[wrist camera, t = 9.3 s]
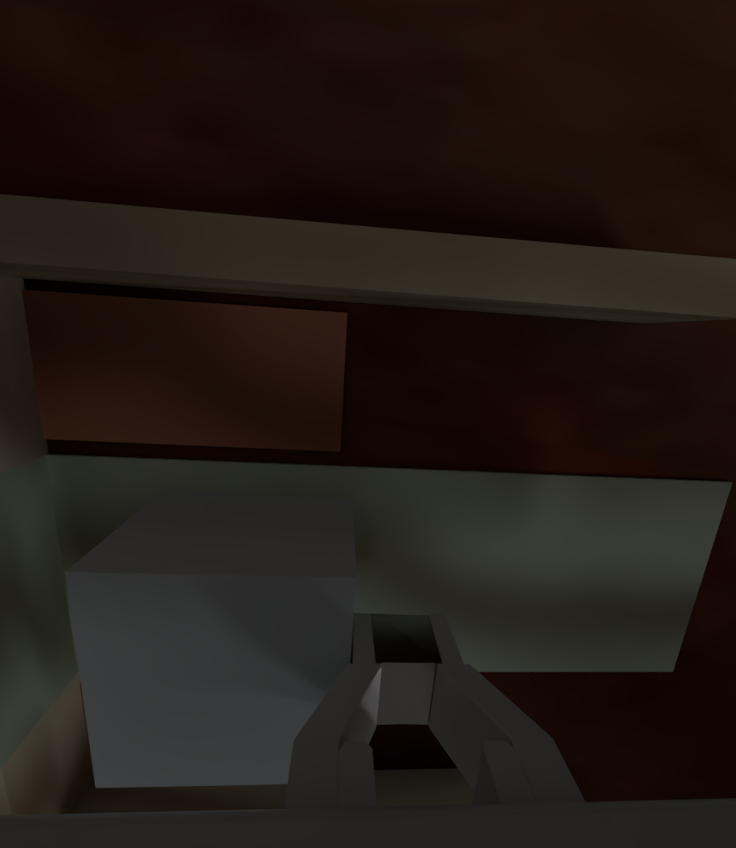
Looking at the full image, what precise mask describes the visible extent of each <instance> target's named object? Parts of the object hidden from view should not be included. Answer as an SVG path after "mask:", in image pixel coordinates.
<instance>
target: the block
mask: <svg viewBox="0 0 736 848" xmlns="http://www.w3.org/2000/svg"><path fill="white" fill-rule="evenodd" d="M65 573H66V580H67V587H68V595H69V602H70V609H71V616H72V623H73V630H74V637H75V644H76V652H77V659H78V666H79V673H80V680H81V687H82V694H83V702H84V709H85V716H86V723H87V730H88V737H89V744H90V752H91V759H92V766H93V773H94V780H95V787H96V788H121V787H171V786H222V785H272V784H288V777H289V770H290V763H291V755H292V748H293V741H294V739H295V737H296V736H297V735H298V733H299V732H300V730H301V729H302V728H303V726H304V725H305V723H306V722H307V720H308V719H309V718H310V716H311V715H312V713H313V712H314V711H315V709H316V708H317V706H318V705H319V704H320V702H321V701H322V699H323V698H324V696H325V695H326V694H327V692H328V691H329V689H330V688H331V687H332V685H333V684H334V682H335V681H336V679H337V678H338V677H339V675H340V674H341V672H342V671H343V670H344V668H345V667H346V665H347V664H350V661H351V646H352V632H353V617H354V603H355V588H356V562H355V538H354V514H353V499H346V498H319V497H292V496H266V495H239V494H212V493H185V492H160V493H159V494H158V495H157V496H156V497H154V498H153V499H152V500H151V501H150V502H148V503H147V504H146V505H145V506H144V507H142V508H141V509H140V510H139V511H138V512H136V513H135V514H134V515H133V516H132V517H130V518H129V519H128V520H127V521H126V522H124V523H123V524H122V525H121V526H120V527H119V528H117V529H116V530H115V531H114V532H113V533H111V534H110V535H109V536H108V537H107V538H105V539H104V540H103V541H102V542H101V543H99V544H98V545H97V546H96V547H95V548H93V549H92V550H91V551H90V552H89V553H87V554H86V555H85V556H84V557H83V558H81V559H80V560H79V561H78V562H77V563H75V564H74V565H73V566H72V567H71V568H69V569H68V570H67V571H66V572H65Z"/></svg>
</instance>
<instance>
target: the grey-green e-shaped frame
mask: <svg viewBox="0 0 736 848" xmlns="http://www.w3.org/2000/svg"><path fill="white" fill-rule="evenodd" d="M23 278H25V279H39V280H52V281H66V282H80V283H93V284H107V285H121V286H134V287H148V288H162V289H176V290H189V291H203V292H217V293H230V294H244V295H258V296H272V297H285V298H299V299H313V300H326V301H340V302H354V303H368V304H381V305H395V306H409V307H422V308H436V309H450V310H464V311H477V312H491V313H505V314H518V315H532V316H546V317H560V318H573V319H587V320H601V321H614V322H628V323H662V322H683V321H705V320H726V319H736V259H729V258H718V257H707V256H695V255H684V254H673V253H661V252H650V251H639V250H627V249H616V248H605V247H593V246H582V245H571V244H560V243H548V242H537V241H526V240H514V239H503V238H492V237H480V236H469V235H458V234H446V233H435V232H424V231H412V230H401V229H390V228H378V227H367V226H356V225H344V224H333V223H322V222H310V221H299V220H288V219H276V218H265V217H254V216H242V215H231V214H220V213H209V212H197V211H186V210H175V209H163V208H152V207H141V206H129V205H118V204H107V203H95V202H84V201H73V200H61V199H50V198H39V197H27V196H16V195H5V194H0V815H42V814H84V813H127V812H169V811H212V810H255V809H284V807H285V799H286V792H287V785H288V784H272V785H222V786H171V787H121V788H96V787H95V780H94V773H93V766H92V759H91V752H90V744H89V737H88V730H87V723H86V716H85V709H84V702H83V694H82V687H81V680H80V673H79V666H78V659H77V652H76V644H75V637H74V630H73V623H72V616H71V609H70V602H69V595H68V587H67V580H66V573H65V572H66V571H67V570H68V569H69V568H71V567H72V566H73V565H74V564H75V563H77V562H78V561H79V560H80V559H81V558H83V557H84V556H85V555H86V554H87V553H89V552H90V551H91V550H92V549H93V548H95V547H96V546H97V545H98V544H99V543H101V542H102V541H103V540H104V539H105V538H107V537H108V536H109V535H110V534H111V533H113V532H114V531H115V530H116V529H117V528H119V527H120V526H121V525H122V524H123V523H124V522H126V521H127V520H128V519H129V518H130V517H132V516H133V515H134V514H135V513H136V512H138V511H139V510H140V509H141V508H142V507H144V506H145V505H146V504H147V503H148V502H150V501H151V500H152V499H153V498H154V497H156V496H157V495H158V494H159V493H160V492H185V493H212V494H239V495H266V496H292V497H319V498H346V499H353V514H354V538H355V562H356V588H355V603H354V613H367V614H371V613H375V614H400V615H427V614H444V615H445V616H446V617H447V619H448V622H449V624H450V627H451V630H452V632H453V635H454V638H455V640H456V643H457V646H458V649H459V651H460V654H461V657H462V659H463V662H464V664H470V665H471V666H472V667H473V668H474V669H476V670H477V671H478V672H673V670H674V667H675V664H676V660H677V657H678V654H679V651H680V648H681V644H682V641H683V638H684V635H685V632H686V629H687V625H688V622H689V619H690V616H691V613H692V610H693V606H694V603H695V600H696V597H697V594H698V590H699V587H700V584H701V581H702V578H703V575H704V571H705V568H706V565H707V562H708V559H709V556H710V552H711V549H712V546H713V543H714V540H715V536H716V533H717V530H718V527H719V524H720V521H721V517H722V514H723V511H724V508H725V505H726V502H727V498H728V495H729V492H730V489H731V486H732V482H730V481H706V480H681V479H656V478H631V477H606V476H582V475H557V474H532V473H507V472H482V471H457V470H433V469H408V468H383V467H358V466H333V465H309V464H284V463H259V462H234V461H209V460H184V459H160V458H135V457H110V456H85V455H60V454H49V453H48V446H47V439H54V440H77V441H101V442H124V443H147V444H170V445H194V446H217V447H240V448H263V449H286V450H310V451H333V452H341V432H342V412H343V391H344V371H345V350H346V330H347V313H345V312H331V311H317V310H303V309H289V308H274V307H260V306H246V305H232V304H218V303H204V302H190V301H176V300H162V299H147V298H133V297H119V296H105V295H91V294H77V293H63V292H49V291H34V290H25V287H24V280H23ZM374 778H375V791H376V805H377V807H384V806H428V805H472V802H473V797H474V791H473V789H472V788H471V786H470V785H469V784H468V782H467V781H466V779H465V778H464V776H463V775H462V774H461V772H460V771H459V769H458V768H453V769H404V770H374Z"/></svg>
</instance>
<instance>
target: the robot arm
mask: <svg viewBox="0 0 736 848" xmlns="http://www.w3.org/2000/svg"><path fill="white" fill-rule="evenodd" d="M388 724H422V725H429V726H428V727H429V728H430V730H431V731H432V732H433V734H434V735H435V737H436V738H437V739H438V741H439V742H440V744H441V745H442V747H443V748H444V749H445V751H446V752H447V754H448V755H449V757H450V758H451V759H452V761H453V762H454V764H455V765H456V766H457V768H458V769H459V771H460V772H461V774H462V775H463V776H464V778H465V779H466V781H467V782H468V784H469V785H470V786H471V788H472V789H473V791H474V797H473V802H472V805H428V806H384V807H377V805H376V791H375V778H374V764H373V751H372V748H371V747H370V746H369V742H370V740H371V738H372V736H373V733H374V731H375V729H376V725H388ZM0 848H736V798H727V799H683V800H639V801H596V802H585V800H584V798H583V796H582V794H581V792H580V790H579V788H578V786H577V784H576V783H575V781H574V779H573V777H572V775H571V773H570V771H569V769H568V767H567V765H566V763H565V761H564V759H563V757H562V755H561V753H560V751H559V750H558V748H557V746H556V744H555V742H554V740H553V738H552V737H551V736H549V735H548V734H547V733H546V732H545V731H544V730H543V729H542V728H540V727H539V726H538V725H537V724H536V723H535V722H534V721H533V720H532V719H530V718H529V717H528V716H527V715H526V714H525V713H524V712H523V711H521V710H520V709H519V708H518V707H517V706H516V705H515V704H514V703H512V702H511V701H510V700H509V699H508V698H507V697H506V696H505V695H504V694H502V693H501V692H500V691H499V690H498V689H497V688H496V687H495V686H493V685H492V684H491V683H490V682H489V681H488V680H487V679H486V678H485V677H483V676H482V675H481V674H480V673H479V672H478V671H477V670H476V669H474V668H473V667H472V666H471V665H470V664H464V662H463V659H462V657H461V654H460V651H459V649H458V646H457V643H456V640H455V638H454V635H453V632H452V630H451V627H450V624H449V622H448V619H447V617H446V616H445V615H444V614H427V615H400V614H375V613H371V614H367V613H354V617H353V632H352V646H351V661H350V664H347V665H346V667H345V668H344V670H343V671H342V672H341V674H340V675H339V677H338V678H337V679H336V681H335V682H334V684H333V685H332V687H331V688H330V689H329V691H328V692H327V694H326V695H325V696H324V698H323V699H322V701H321V702H320V704H319V705H318V706H317V708H316V709H315V711H314V712H313V713H312V715H311V716H310V718H309V719H308V720H307V722H306V723H305V725H304V726H303V728H302V729H301V730H300V732H299V733H298V735H297V736H296V737H295V739H294V741H293V748H292V755H291V763H290V770H289V777H288V785H287V792H286V799H285V807H284V809H255V810H212V811H169V812H127V813H84V814H42V815H0Z"/></svg>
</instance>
